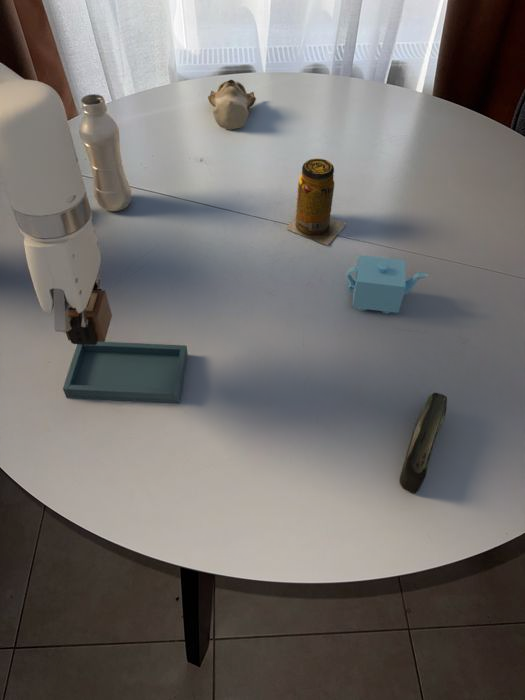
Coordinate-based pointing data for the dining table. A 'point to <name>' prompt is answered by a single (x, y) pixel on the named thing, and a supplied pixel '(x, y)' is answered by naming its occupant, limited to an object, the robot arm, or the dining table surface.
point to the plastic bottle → (104, 154)
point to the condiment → (316, 203)
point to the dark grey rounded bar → (423, 442)
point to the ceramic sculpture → (231, 104)
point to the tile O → (97, 313)
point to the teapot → (380, 283)
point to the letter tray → (127, 372)
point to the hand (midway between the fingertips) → (89, 325)
